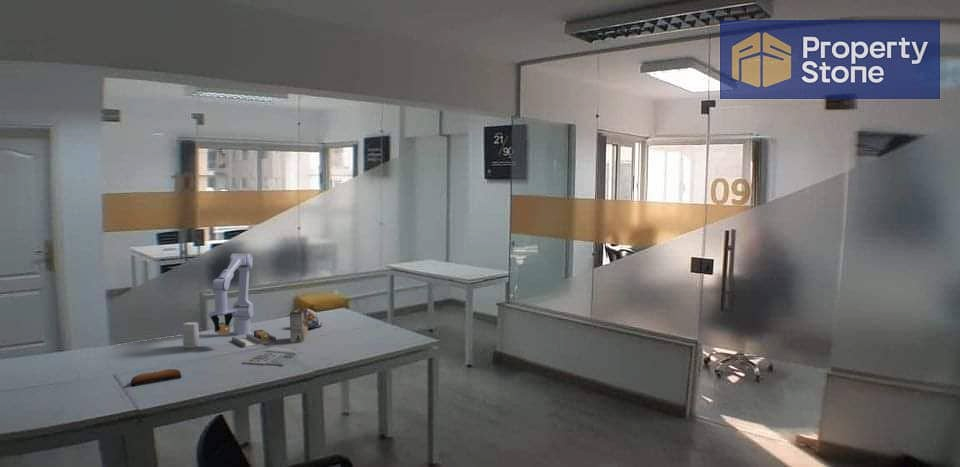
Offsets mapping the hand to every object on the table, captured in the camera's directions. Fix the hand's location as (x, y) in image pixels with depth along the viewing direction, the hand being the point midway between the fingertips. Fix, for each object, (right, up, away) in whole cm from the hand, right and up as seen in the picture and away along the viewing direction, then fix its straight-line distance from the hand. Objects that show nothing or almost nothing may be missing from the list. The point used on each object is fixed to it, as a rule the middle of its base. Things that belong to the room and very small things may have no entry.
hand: (222, 329), depth 281 cm
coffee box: (+35, -8, +13) cm, 38 cm away
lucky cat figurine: (+32, -6, +40) cm, 51 cm away
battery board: (+12, -8, +10) cm, 17 cm away
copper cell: (0, -2, 0) cm, 2 cm away
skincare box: (-16, -9, +1) cm, 18 cm away
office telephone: (+32, -11, -15) cm, 37 cm away
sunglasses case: (-7, -14, -46) cm, 48 cm away
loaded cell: (+15, -7, +13) cm, 21 cm away
